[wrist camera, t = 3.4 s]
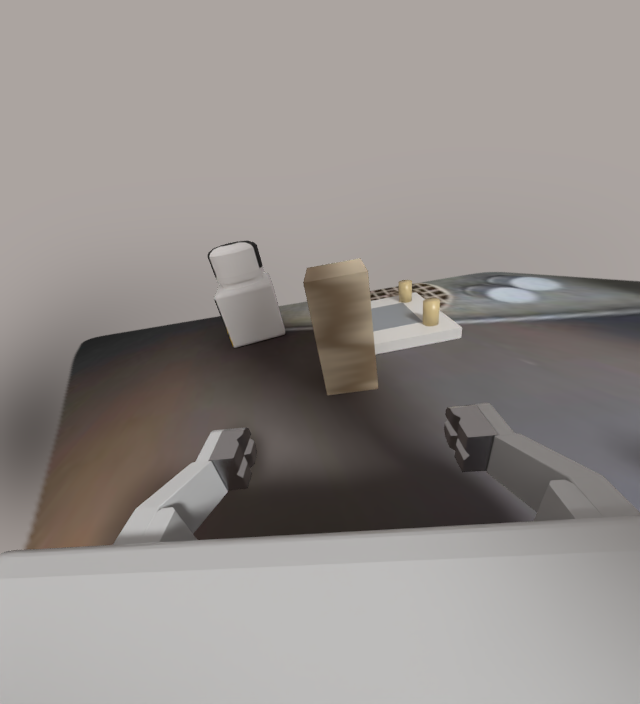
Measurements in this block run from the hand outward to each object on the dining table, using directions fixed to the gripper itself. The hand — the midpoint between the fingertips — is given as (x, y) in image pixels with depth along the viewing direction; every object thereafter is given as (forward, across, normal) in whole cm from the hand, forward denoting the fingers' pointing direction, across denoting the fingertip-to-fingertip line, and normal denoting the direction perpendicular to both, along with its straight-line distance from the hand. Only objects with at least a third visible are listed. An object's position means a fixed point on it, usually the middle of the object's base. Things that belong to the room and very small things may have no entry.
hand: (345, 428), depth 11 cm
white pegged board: (+22, -6, +6) cm, 23 cm away
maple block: (+12, 0, +6) cm, 14 cm away
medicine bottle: (+26, +12, +6) cm, 29 cm away
